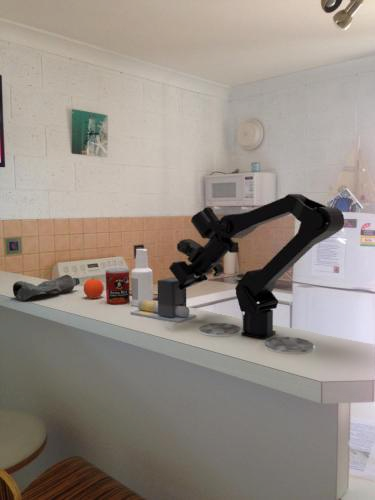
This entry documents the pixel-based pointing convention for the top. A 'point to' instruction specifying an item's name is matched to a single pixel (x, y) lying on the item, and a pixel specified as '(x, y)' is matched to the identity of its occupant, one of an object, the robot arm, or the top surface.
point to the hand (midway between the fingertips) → (180, 288)
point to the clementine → (93, 288)
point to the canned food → (117, 286)
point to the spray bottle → (141, 278)
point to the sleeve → (170, 296)
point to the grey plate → (151, 311)
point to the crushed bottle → (44, 287)
